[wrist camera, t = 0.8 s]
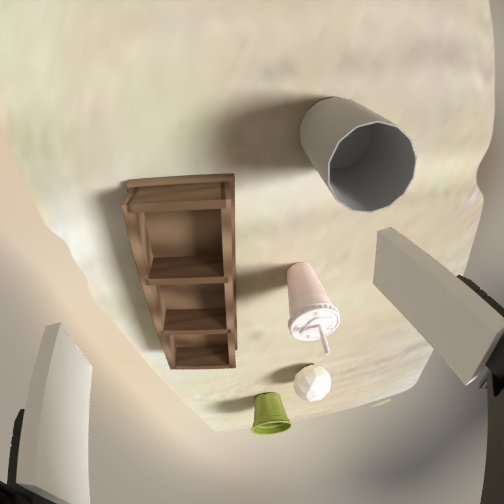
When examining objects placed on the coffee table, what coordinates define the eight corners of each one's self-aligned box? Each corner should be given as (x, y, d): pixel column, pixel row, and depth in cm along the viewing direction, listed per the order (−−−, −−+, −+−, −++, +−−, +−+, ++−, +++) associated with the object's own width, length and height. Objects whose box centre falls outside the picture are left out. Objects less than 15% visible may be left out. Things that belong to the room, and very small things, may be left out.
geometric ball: (296, 358, 63) (282, 381, 56) (331, 356, 59) (320, 380, 52) (305, 385, 64) (292, 408, 57) (338, 384, 60) (328, 409, 53)
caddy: (128, 179, 32) (115, 201, 28) (234, 173, 33) (236, 194, 29) (170, 347, 52) (168, 370, 48) (236, 345, 53) (238, 369, 49)
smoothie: (328, 273, 44) (358, 353, 33) (292, 294, 46) (312, 375, 35) (307, 246, 40) (337, 331, 29) (268, 271, 42) (284, 358, 31)
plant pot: (260, 386, 64) (264, 421, 57) (294, 391, 68) (300, 423, 61) (241, 402, 69) (244, 433, 62) (273, 405, 72) (277, 435, 66)
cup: (329, 180, 34) (361, 228, 27) (283, 132, 30) (306, 168, 23) (382, 136, 31) (429, 172, 23) (341, 81, 27) (386, 101, 19)
